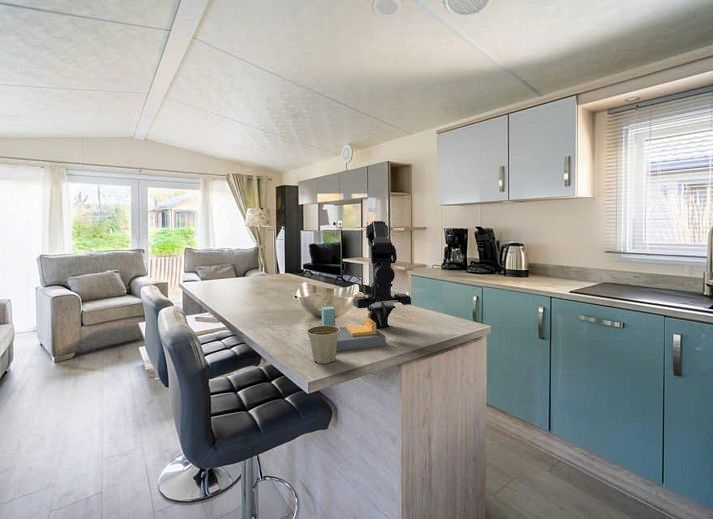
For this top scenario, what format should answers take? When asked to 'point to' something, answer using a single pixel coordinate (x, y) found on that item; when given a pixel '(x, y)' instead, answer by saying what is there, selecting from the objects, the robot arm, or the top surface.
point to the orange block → (362, 328)
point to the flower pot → (323, 342)
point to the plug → (328, 316)
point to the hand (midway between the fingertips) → (382, 326)
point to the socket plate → (358, 340)
